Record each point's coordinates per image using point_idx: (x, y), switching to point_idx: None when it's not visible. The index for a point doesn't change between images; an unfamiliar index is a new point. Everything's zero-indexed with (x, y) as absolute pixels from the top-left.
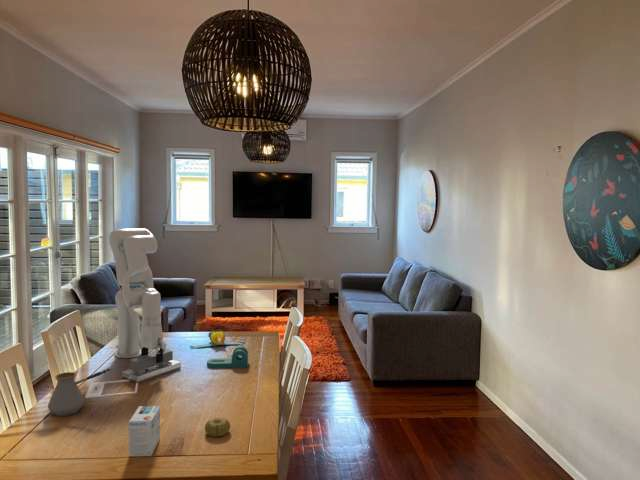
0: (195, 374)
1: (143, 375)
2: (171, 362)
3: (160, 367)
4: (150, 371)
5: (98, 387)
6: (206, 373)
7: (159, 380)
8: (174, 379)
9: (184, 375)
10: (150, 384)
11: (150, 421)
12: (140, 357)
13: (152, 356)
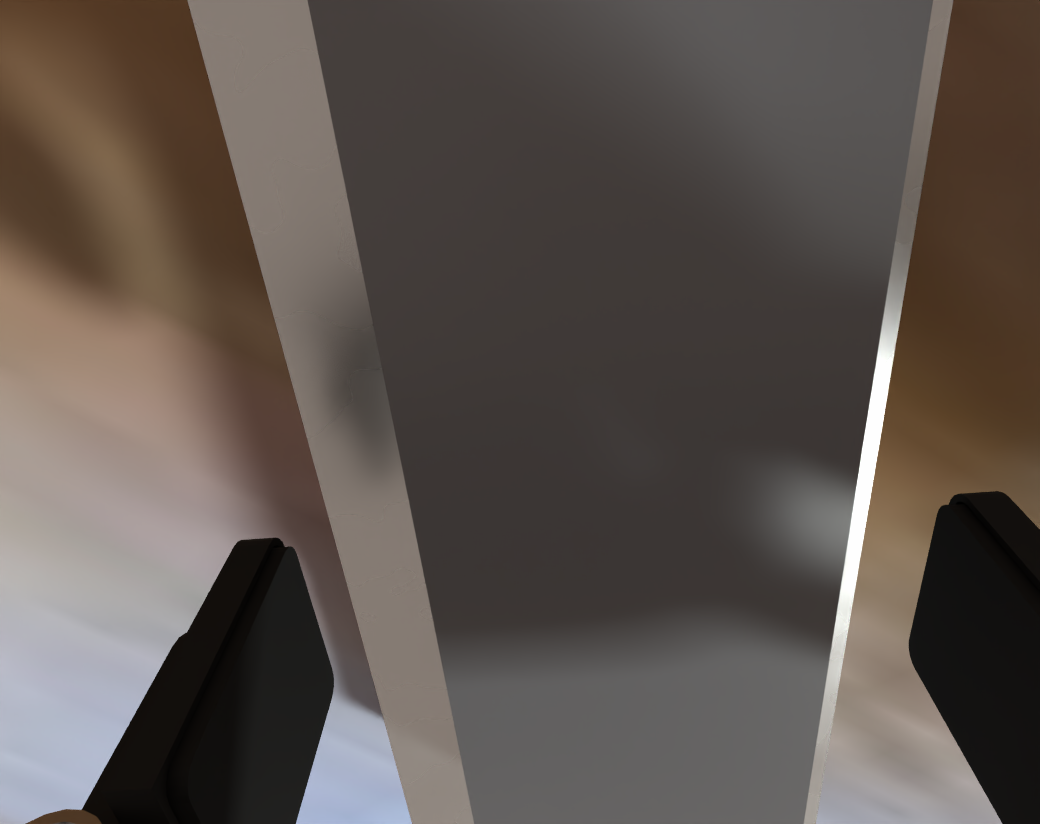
0: (76, 738)
1: (196, 2)
2: None
3: (413, 555)
4: (319, 287)
5: None
6: (32, 814)
7: (141, 292)
8: (35, 480)
9: (128, 647)
10: (6, 24)
11: None
12: (773, 363)
13: (497, 668)
